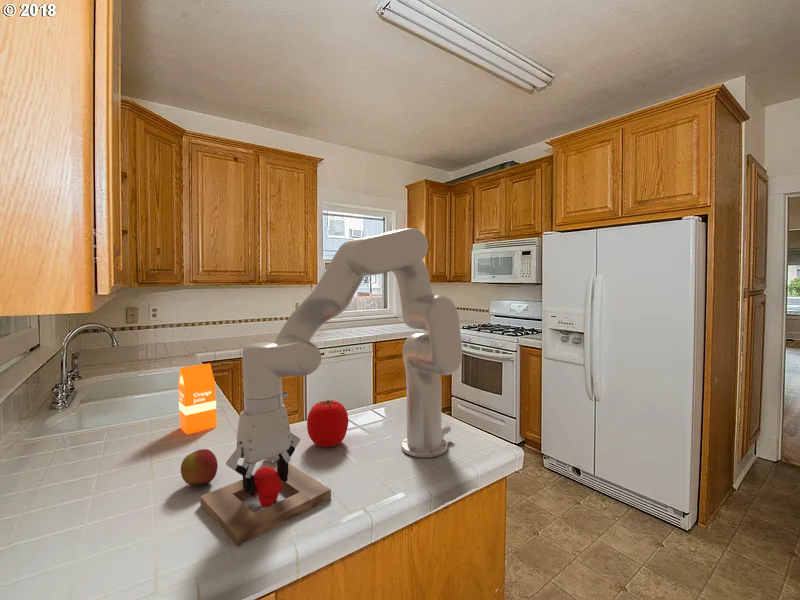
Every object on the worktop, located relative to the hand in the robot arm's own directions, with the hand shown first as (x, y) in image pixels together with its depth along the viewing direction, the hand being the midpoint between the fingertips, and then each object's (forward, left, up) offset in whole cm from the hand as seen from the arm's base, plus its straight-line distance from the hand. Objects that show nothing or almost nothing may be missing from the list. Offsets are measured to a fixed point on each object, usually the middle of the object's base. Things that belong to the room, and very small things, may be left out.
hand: (266, 485), depth 81 cm
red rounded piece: (0, 0, -3) cm, 3 cm away
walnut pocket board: (0, 0, -4) cm, 4 cm away
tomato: (-26, -14, -4) cm, 30 cm away
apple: (+7, -18, -4) cm, 20 cm away
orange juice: (-5, -55, -4) cm, 55 cm away
